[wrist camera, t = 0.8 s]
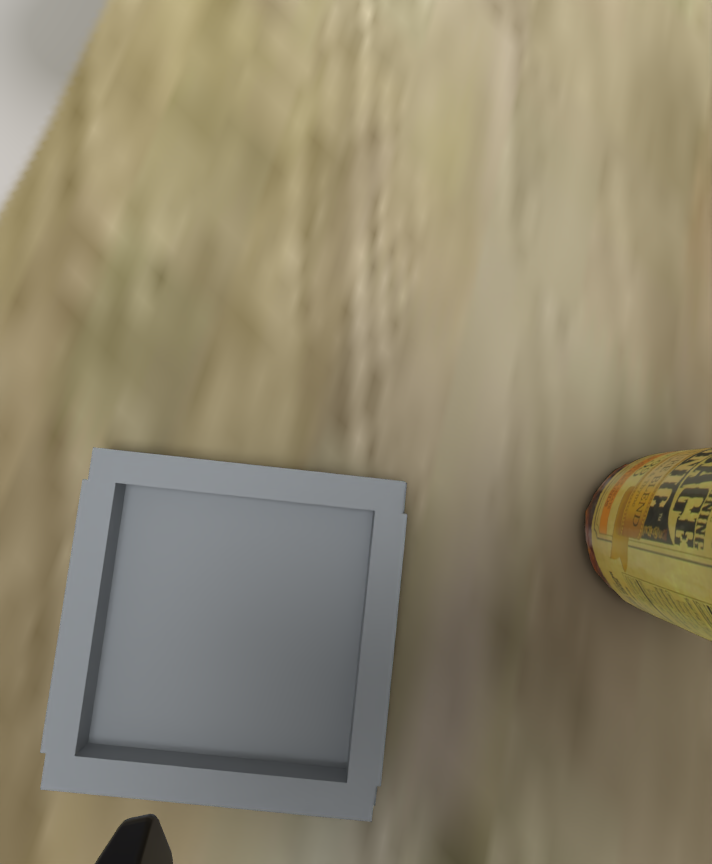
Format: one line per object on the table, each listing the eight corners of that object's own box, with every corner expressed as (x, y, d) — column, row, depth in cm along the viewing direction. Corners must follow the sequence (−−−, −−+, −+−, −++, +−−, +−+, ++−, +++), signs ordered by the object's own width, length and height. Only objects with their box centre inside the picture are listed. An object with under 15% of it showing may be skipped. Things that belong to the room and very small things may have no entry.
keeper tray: (373, 795, 24) (377, 822, 22) (59, 764, 24) (34, 788, 22) (404, 483, 25) (410, 481, 23) (107, 450, 25) (87, 446, 23)
